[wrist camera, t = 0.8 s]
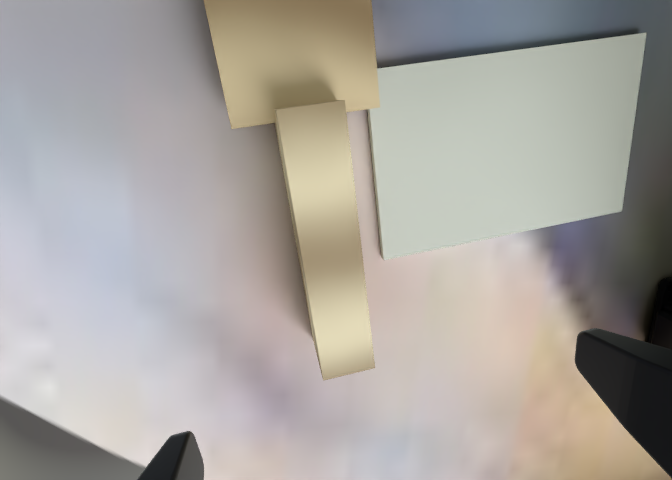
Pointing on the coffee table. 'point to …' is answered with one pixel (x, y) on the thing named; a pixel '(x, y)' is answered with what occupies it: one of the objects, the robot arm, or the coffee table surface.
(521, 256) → the coffee table surface
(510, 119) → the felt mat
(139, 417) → the coffee table surface
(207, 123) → the coffee table surface
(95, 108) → the coffee table surface
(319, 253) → the spatula
